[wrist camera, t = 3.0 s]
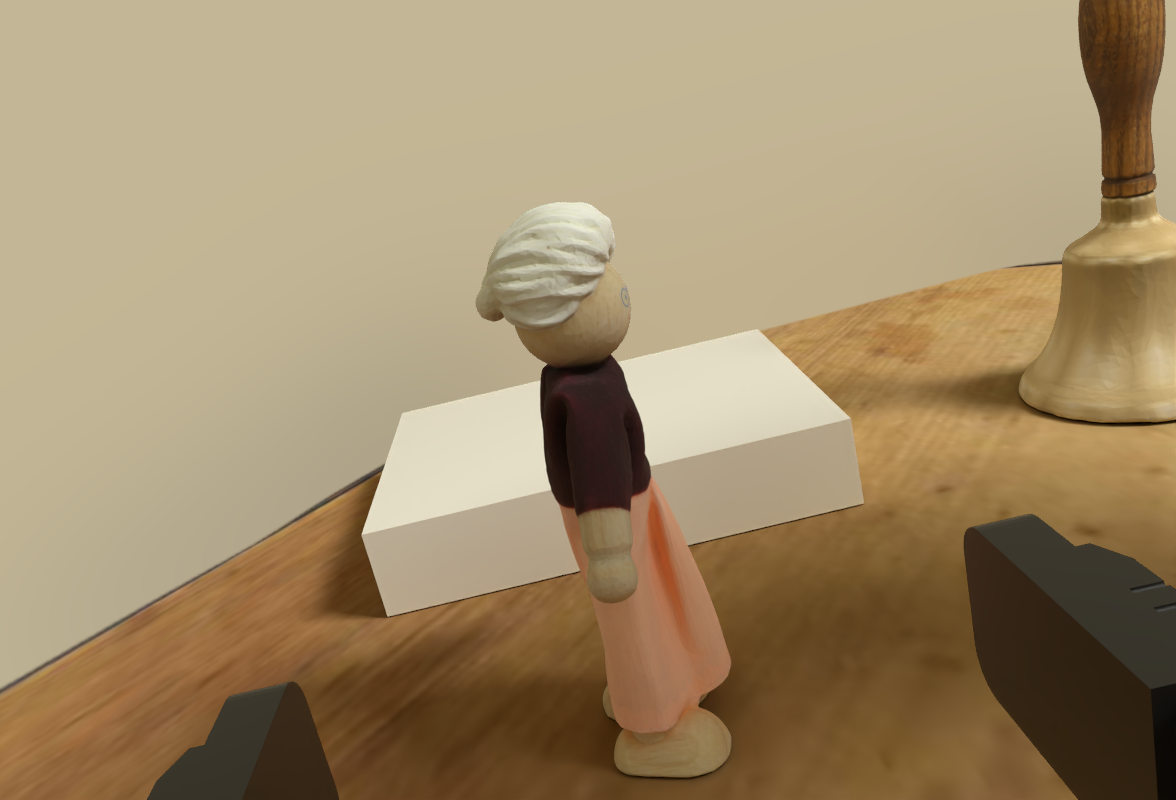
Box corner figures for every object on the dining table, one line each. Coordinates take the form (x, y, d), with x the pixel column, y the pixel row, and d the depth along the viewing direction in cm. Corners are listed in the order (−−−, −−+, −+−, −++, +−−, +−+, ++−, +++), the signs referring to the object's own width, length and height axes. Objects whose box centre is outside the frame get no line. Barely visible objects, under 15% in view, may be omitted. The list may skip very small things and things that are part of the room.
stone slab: (768, 392, 46) (757, 328, 45) (863, 503, 34) (850, 418, 33) (420, 475, 46) (402, 413, 45) (387, 617, 34) (361, 535, 33)
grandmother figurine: (801, 773, 22) (689, 191, 18) (634, 835, 22) (484, 245, 18) (683, 617, 29) (585, 176, 26) (555, 660, 29) (436, 214, 25)
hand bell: (1076, 342, 44) (1043, -58, 39) (1308, 352, 37) (1301, -124, 33) (977, 413, 39) (925, -34, 34) (1224, 439, 32) (1202, -106, 28)
